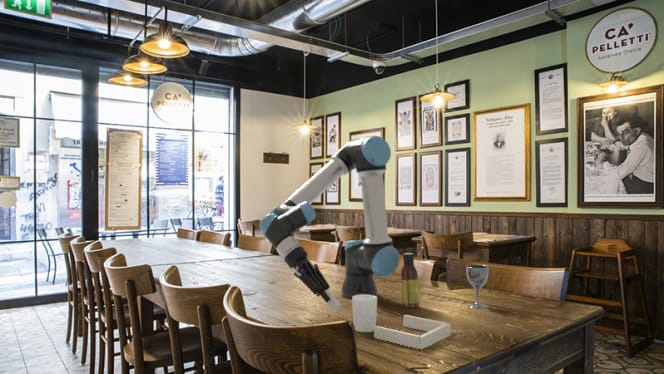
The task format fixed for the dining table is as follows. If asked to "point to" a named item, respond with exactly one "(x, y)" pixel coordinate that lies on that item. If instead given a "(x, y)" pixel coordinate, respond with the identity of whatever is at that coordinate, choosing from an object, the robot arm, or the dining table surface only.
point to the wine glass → (477, 281)
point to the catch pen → (433, 335)
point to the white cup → (364, 312)
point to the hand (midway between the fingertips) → (336, 308)
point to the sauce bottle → (409, 282)
